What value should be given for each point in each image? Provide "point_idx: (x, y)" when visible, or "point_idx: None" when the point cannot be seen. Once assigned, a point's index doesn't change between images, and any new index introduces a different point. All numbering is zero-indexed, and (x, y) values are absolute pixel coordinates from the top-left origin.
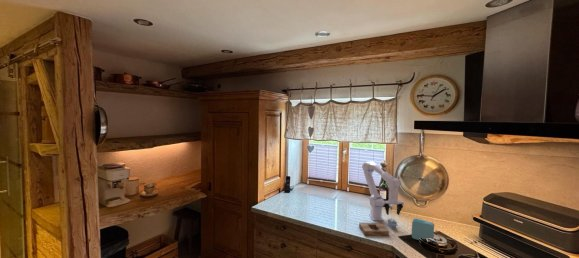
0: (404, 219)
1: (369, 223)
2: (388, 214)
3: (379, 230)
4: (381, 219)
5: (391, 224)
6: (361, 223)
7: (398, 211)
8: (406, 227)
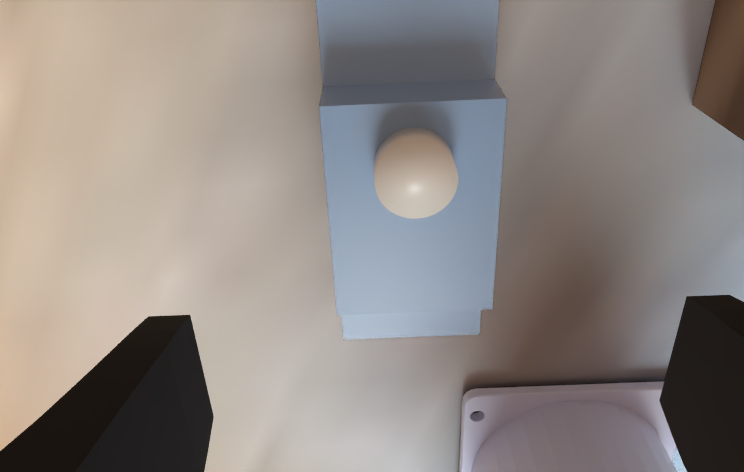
0: None
1: None
2: (698, 299)
3: None
4: (502, 413)
5: (488, 69)
6: None
7: (125, 459)
8: (37, 130)
